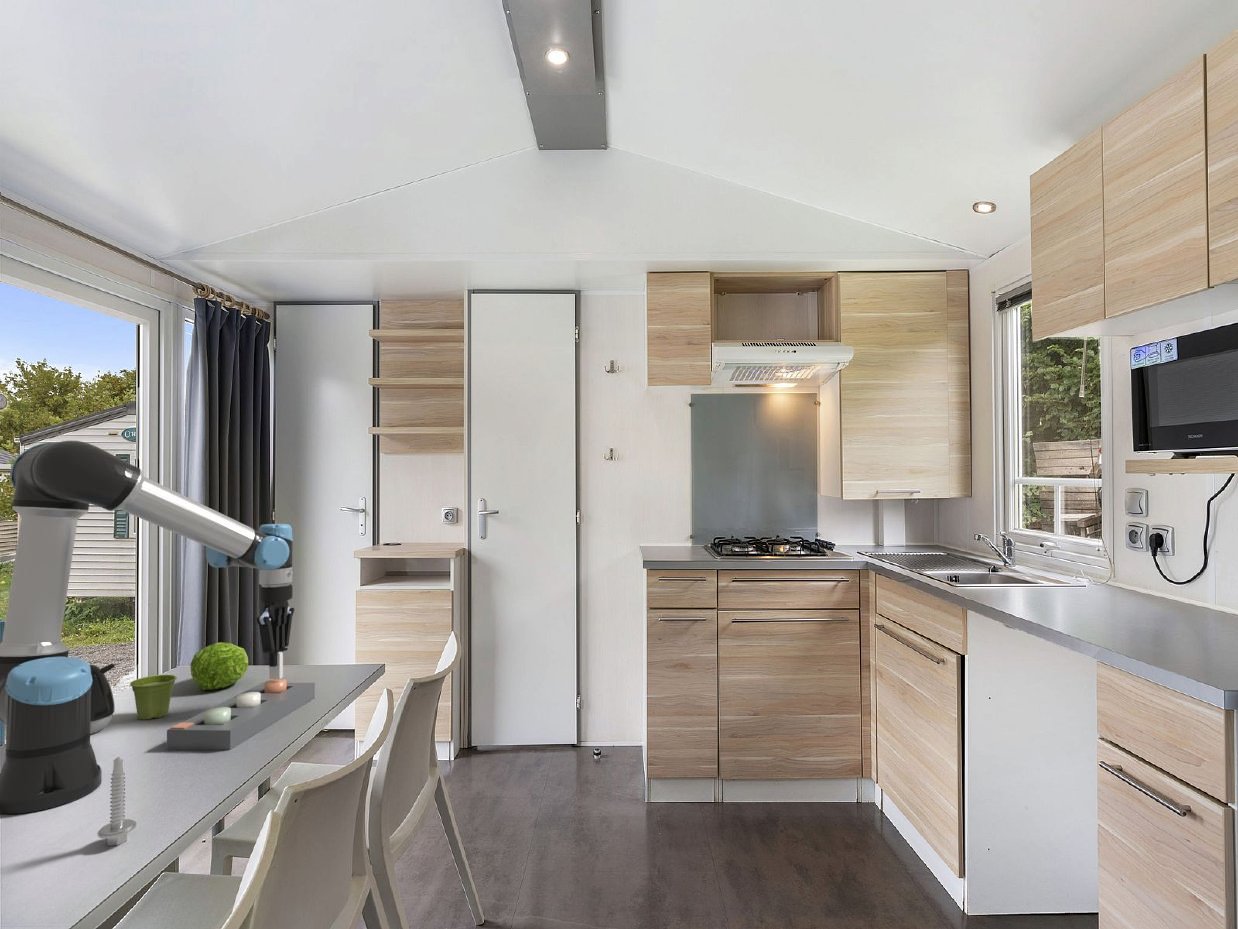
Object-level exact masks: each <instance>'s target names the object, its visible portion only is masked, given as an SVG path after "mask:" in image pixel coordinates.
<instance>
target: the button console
mask: <svg viewBox="0 0 1238 929" xmlns="http://www.w3.org/2000/svg"><path fill="white" fill-rule="evenodd" d="M264 683H265V682H261V683H259V684H257V685H255V686H253V687H251V688H250V689H247V690H245V691H243V692H241V693H239V694H237V695H235V696H233V697H231V698H229V699H227V700H225V701H223V702H221V703H218V704H216V705H215V706H213V707H210V708H208V709H206V710H204V711H203V712H200V713H199V714H196V715H194V716H192V717H191V718H188V719H186V720H184V721H181V722H179V723H177V724H175V725H173V726H172V727H171V726H170V728H167V730H166V750H217V751H218V750H224V751H225V750H229V751H230V750H232V749H234V748H236V747H238V746H239V745H240V744H242V743H244V742H245V741H247V740H248V739H250V738H252V737H254V736H255V735H257V734H258V733H260V732H262V731H263V730H265V729H267V728H268V727H271V725H274V724H275V723H277V722H278V721H280V720H281V719H283V718H285V717H287V716H288V715H289V714H291V713H293V712H295V711H296V710H297V709H300V708H301V707H303V706H304V705H307V704H308V703H309V702H311V701H312V700H315V696H316V693H315V692H316V690H315V689H316V683H315V682H287V690H286V691H284V692H282V693H264ZM249 692H259V693H261V704H260V705H258V706H256V707H254V708H236V697H237V696H238V695H240V694H244V693H249ZM220 707H229V708H231V720H230V721H228V722H227V723H225V724H223V725H204V713H205V712H206V711H208V710H210V709H214V708H220Z"/></svg>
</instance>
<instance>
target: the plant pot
mask: <svg viewBox="0 0 1238 929" xmlns="http://www.w3.org/2000/svg"><path fill="white" fill-rule="evenodd" d="M177 678H178V676H177V675H175V674H166V673H165V674H156V675H148V676H144V677H143V676H142V677H141V678H137V679H134V680H132V681H131V682H130V683H129V685H130V687H131V689H132V692H133V695H134V700H135V708H136V714H137V718H138V719H139V720H145V719H148V720H151V719H153V718H155V719H156V718H157V719H158V718H159V719H160V718H162V717H165V716H166V715H168V714H169V709H170V703H171V699H172V698H171V697H172V692H173V688H174V685H175V682H176V680H177Z"/></svg>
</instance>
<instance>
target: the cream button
mask: <svg viewBox="0 0 1238 929" xmlns="http://www.w3.org/2000/svg"><path fill="white" fill-rule="evenodd" d="M239 694H240V695H239ZM239 694H237V695H238V696H237V695H236V696H237V697H236V708H254V707H256V706H258V705H260V704H261V693H259V692H249V693H244V694H241V693H239Z"/></svg>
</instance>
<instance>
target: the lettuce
mask: <svg viewBox="0 0 1238 929" xmlns="http://www.w3.org/2000/svg"><path fill="white" fill-rule="evenodd" d="M248 669H249V658H248V655H247V652H246V650H245V648H243V647H241V646H237V645H235V644H233V643H230V642H216V643H213V644H210V645H208V646H206V647H204V648H202V649H201V650H198V651H197V652H195V654H194V655H193V657H192V659H191V662H190V676H191V677H192V679H193V681H194V683H195V685H197V686H198V687H199V688H200V689H201V690H202V691H209V690H211V691H212V690H218V689H223V688H226V687H227V688H228V686H231V685H233V684H235V683H236V682H238V681H239V680H240V679H242V678H243V676H244V675H245V673H246V672H247V670H248Z"/></svg>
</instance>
